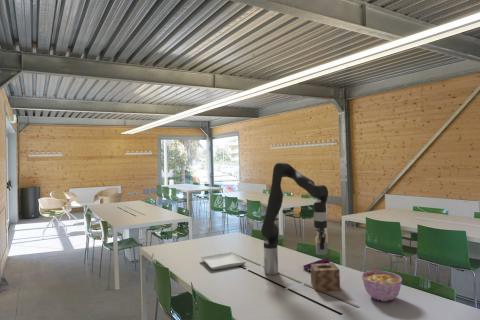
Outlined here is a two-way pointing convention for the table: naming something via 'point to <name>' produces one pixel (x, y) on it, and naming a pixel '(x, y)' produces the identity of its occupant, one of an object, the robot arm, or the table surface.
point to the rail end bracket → (318, 250)
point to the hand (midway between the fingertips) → (321, 248)
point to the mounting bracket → (317, 262)
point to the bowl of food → (382, 284)
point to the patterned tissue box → (325, 277)
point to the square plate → (223, 260)
